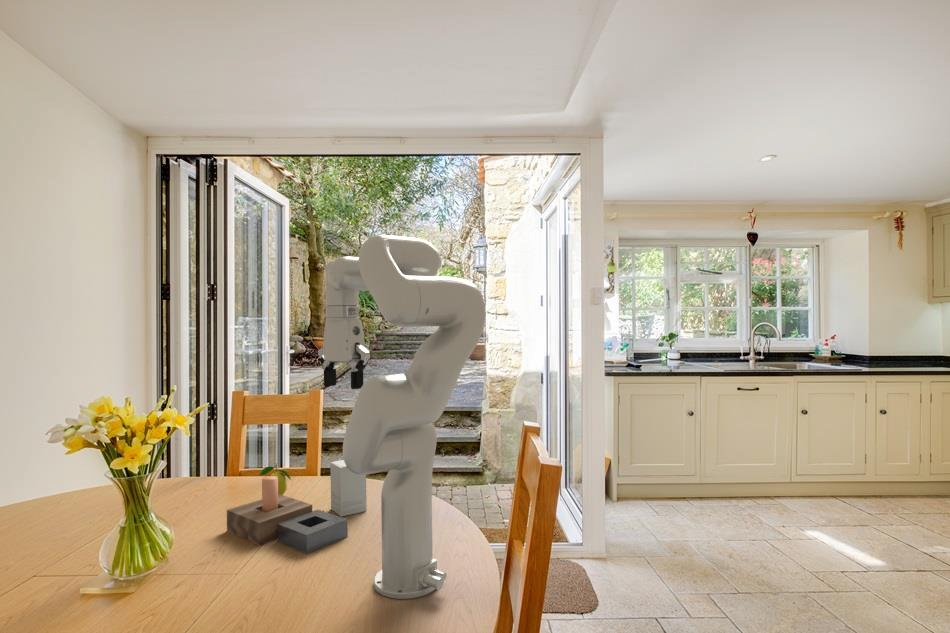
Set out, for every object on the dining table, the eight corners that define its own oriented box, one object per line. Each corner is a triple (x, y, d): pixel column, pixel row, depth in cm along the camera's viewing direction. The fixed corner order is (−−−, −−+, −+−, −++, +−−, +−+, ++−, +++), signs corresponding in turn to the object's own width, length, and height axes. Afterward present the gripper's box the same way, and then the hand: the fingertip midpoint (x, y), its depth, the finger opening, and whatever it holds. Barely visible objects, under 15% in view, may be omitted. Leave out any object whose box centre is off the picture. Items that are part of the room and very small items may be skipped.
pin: (281, 527, 128) (280, 477, 129) (267, 532, 126) (267, 481, 126) (272, 524, 131) (272, 475, 131) (259, 528, 128) (258, 478, 128)
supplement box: (367, 511, 139) (366, 462, 139) (339, 517, 135) (339, 467, 135) (356, 503, 145) (356, 457, 145) (330, 509, 141) (329, 461, 141)
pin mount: (347, 536, 122) (347, 519, 122) (306, 553, 114) (306, 535, 114) (318, 526, 129) (317, 509, 129) (277, 541, 120) (277, 523, 120)
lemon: (259, 499, 149) (259, 464, 149) (277, 493, 154) (277, 459, 154) (273, 504, 145) (273, 467, 145) (292, 498, 150) (291, 462, 150)
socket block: (312, 525, 130) (312, 504, 130) (259, 545, 118) (259, 522, 118) (279, 513, 138) (279, 494, 138) (226, 530, 127) (226, 509, 127)
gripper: (380, 313, 122) (380, 388, 122) (332, 314, 132) (332, 383, 132) (354, 313, 116) (355, 391, 116) (306, 314, 126) (307, 386, 126)
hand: (343, 387), depth 124 cm, fingers open, 9 cm apart
